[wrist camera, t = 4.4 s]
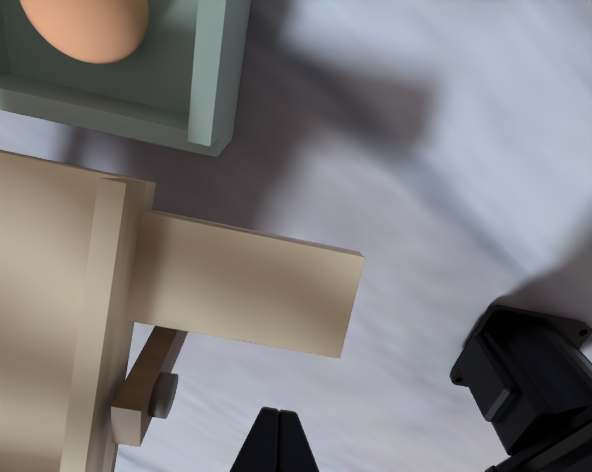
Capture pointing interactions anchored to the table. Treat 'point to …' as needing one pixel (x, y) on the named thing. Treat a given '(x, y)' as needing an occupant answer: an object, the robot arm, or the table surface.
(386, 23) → the table surface
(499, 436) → the robot arm
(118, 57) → the ball
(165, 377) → the lever stand
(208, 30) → the bin
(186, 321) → the tipping lever
